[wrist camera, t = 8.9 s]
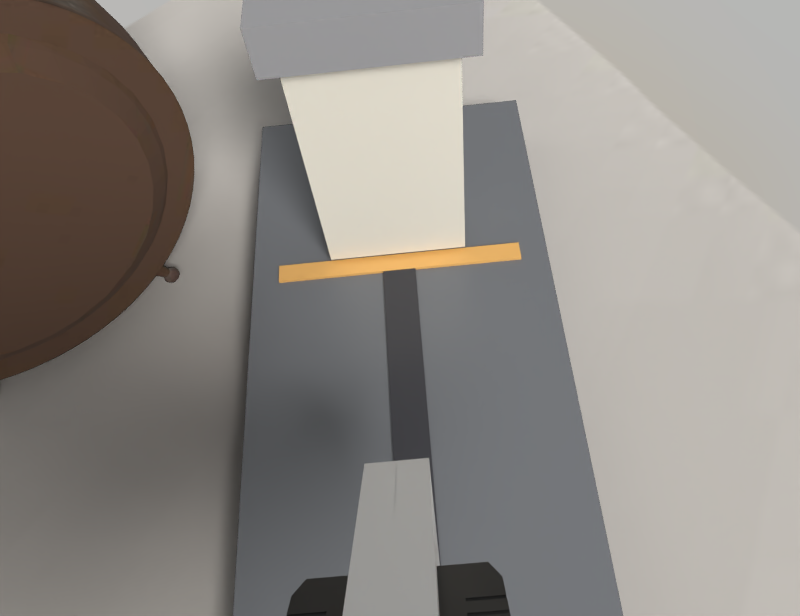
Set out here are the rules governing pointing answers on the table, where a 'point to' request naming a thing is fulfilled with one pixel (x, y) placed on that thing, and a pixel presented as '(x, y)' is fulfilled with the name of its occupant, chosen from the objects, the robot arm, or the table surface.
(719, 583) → the table surface
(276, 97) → the table surface
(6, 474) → the table surface
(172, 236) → the alarm clock
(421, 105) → the fader tab
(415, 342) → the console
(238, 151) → the table surface
